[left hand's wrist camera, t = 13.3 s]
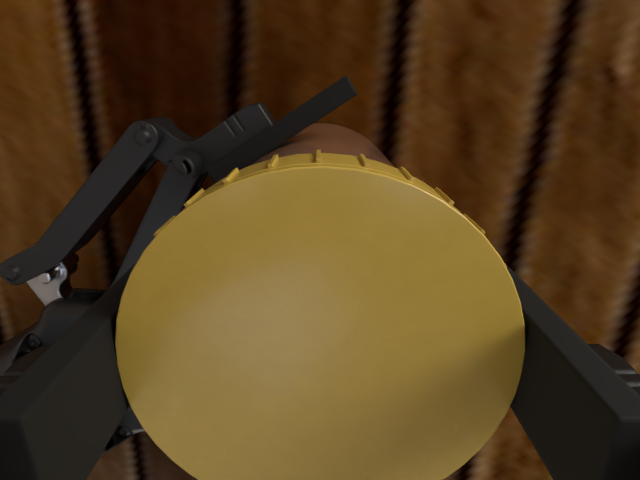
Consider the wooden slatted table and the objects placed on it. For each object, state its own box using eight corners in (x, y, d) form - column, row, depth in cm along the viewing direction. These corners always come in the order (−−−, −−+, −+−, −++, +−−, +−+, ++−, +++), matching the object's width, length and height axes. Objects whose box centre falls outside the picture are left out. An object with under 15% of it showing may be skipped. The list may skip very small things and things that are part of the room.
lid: (570, 241, 11) (616, 271, 10) (396, 497, 15) (406, 554, 13) (208, 79, 10) (184, 79, 8) (104, 401, 13) (70, 450, 12)
